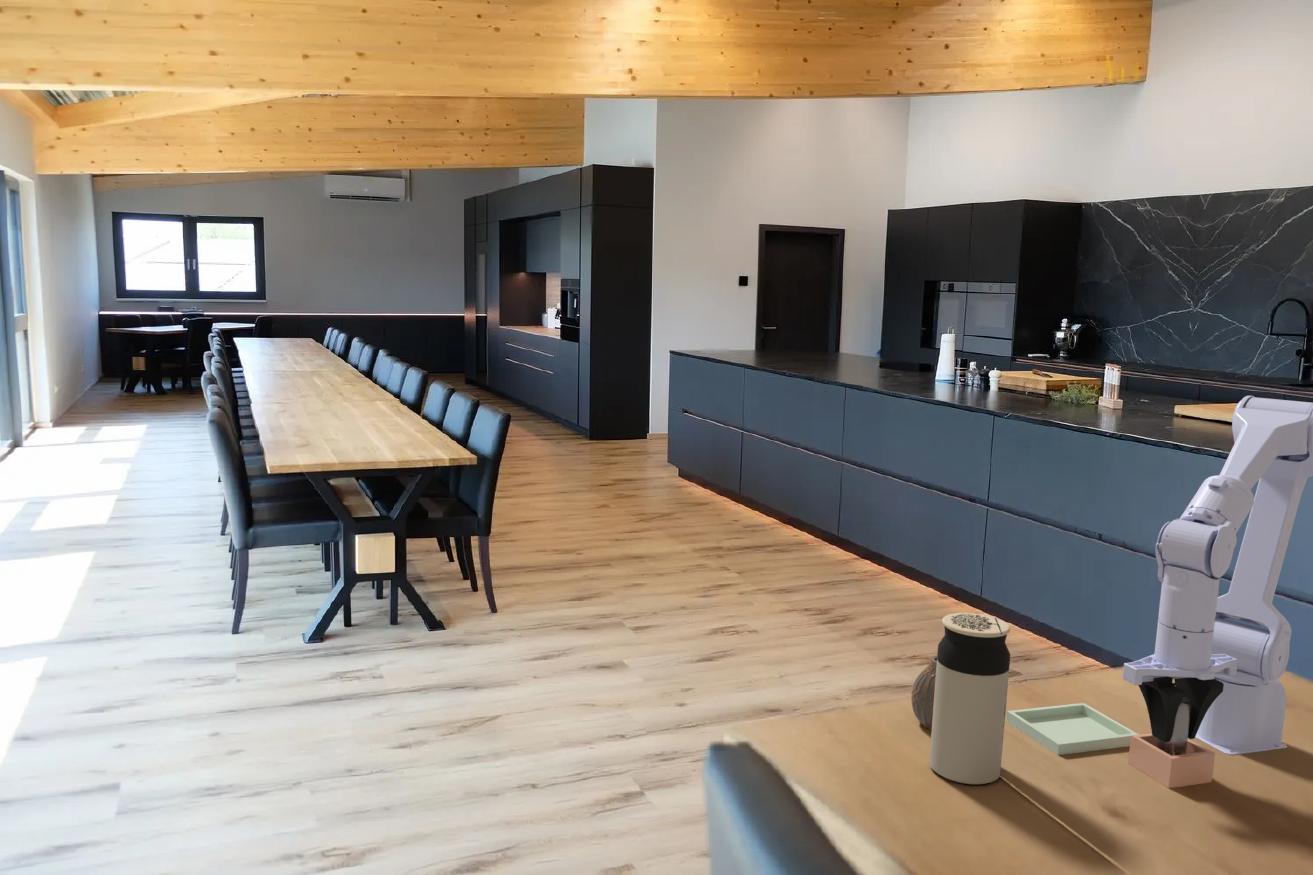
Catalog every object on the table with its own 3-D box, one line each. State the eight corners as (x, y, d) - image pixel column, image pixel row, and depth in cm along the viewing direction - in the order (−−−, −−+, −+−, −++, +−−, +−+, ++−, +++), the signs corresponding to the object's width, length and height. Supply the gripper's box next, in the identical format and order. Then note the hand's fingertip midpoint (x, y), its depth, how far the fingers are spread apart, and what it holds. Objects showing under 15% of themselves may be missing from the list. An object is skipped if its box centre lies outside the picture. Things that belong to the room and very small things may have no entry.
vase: (967, 739, 126) (972, 672, 124) (910, 732, 127) (915, 666, 126) (962, 716, 132) (967, 653, 131) (908, 710, 134) (913, 648, 132)
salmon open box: (1169, 761, 121) (1173, 730, 121) (1211, 785, 115) (1215, 753, 115) (1127, 767, 119) (1131, 735, 119) (1167, 792, 113) (1171, 758, 113)
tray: (1082, 715, 134) (1083, 702, 134) (1138, 748, 124) (1139, 734, 124) (1005, 724, 130) (1007, 710, 130) (1057, 758, 121) (1058, 744, 121)
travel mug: (926, 778, 115) (937, 627, 112) (932, 749, 122) (942, 607, 120) (999, 792, 112) (1012, 638, 110) (1000, 762, 120) (1013, 617, 117)
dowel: (1169, 765, 119) (1177, 693, 118) (1189, 776, 116) (1198, 703, 115) (1149, 767, 118) (1157, 695, 117) (1168, 779, 115) (1177, 705, 114)
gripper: (1161, 640, 109) (1148, 758, 111) (1265, 631, 113) (1251, 745, 115) (1114, 620, 115) (1103, 731, 117) (1214, 612, 120) (1201, 720, 122)
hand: (1173, 736), depth 117 cm, fingers closed on dowel, 3 cm apart
